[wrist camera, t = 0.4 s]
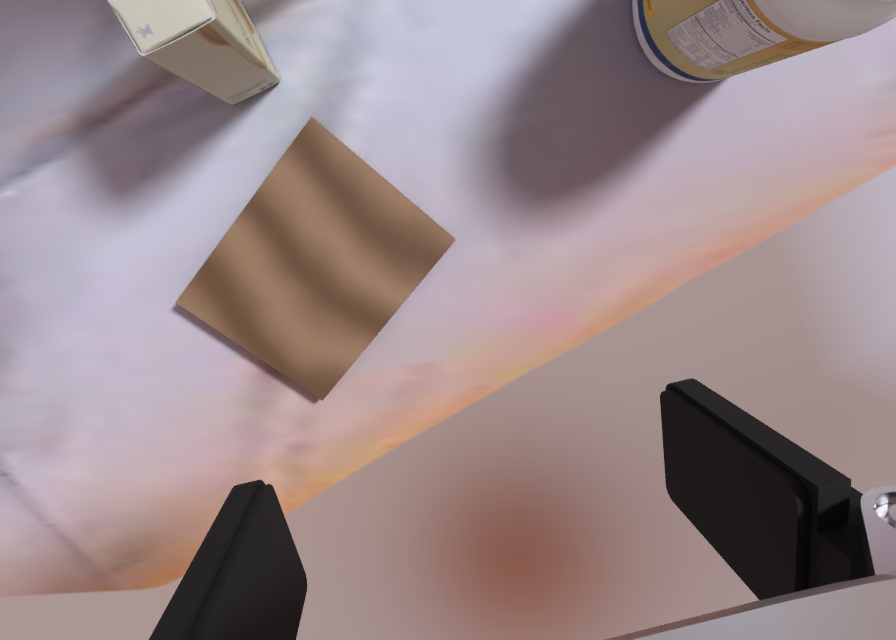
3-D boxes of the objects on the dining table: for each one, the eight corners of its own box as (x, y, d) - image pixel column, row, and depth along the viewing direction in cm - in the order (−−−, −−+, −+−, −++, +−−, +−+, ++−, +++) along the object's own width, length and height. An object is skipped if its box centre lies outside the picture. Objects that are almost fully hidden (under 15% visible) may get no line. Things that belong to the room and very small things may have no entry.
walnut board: (314, 119, 35) (311, 116, 33) (453, 238, 38) (455, 239, 37) (182, 299, 37) (175, 302, 36) (324, 394, 41) (322, 400, 40)
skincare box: (283, 81, 34) (223, 24, 22) (231, 107, 34) (143, 65, 22) (235, -12, 32) (140, -129, 20) (180, 16, 32) (53, -84, 20)
